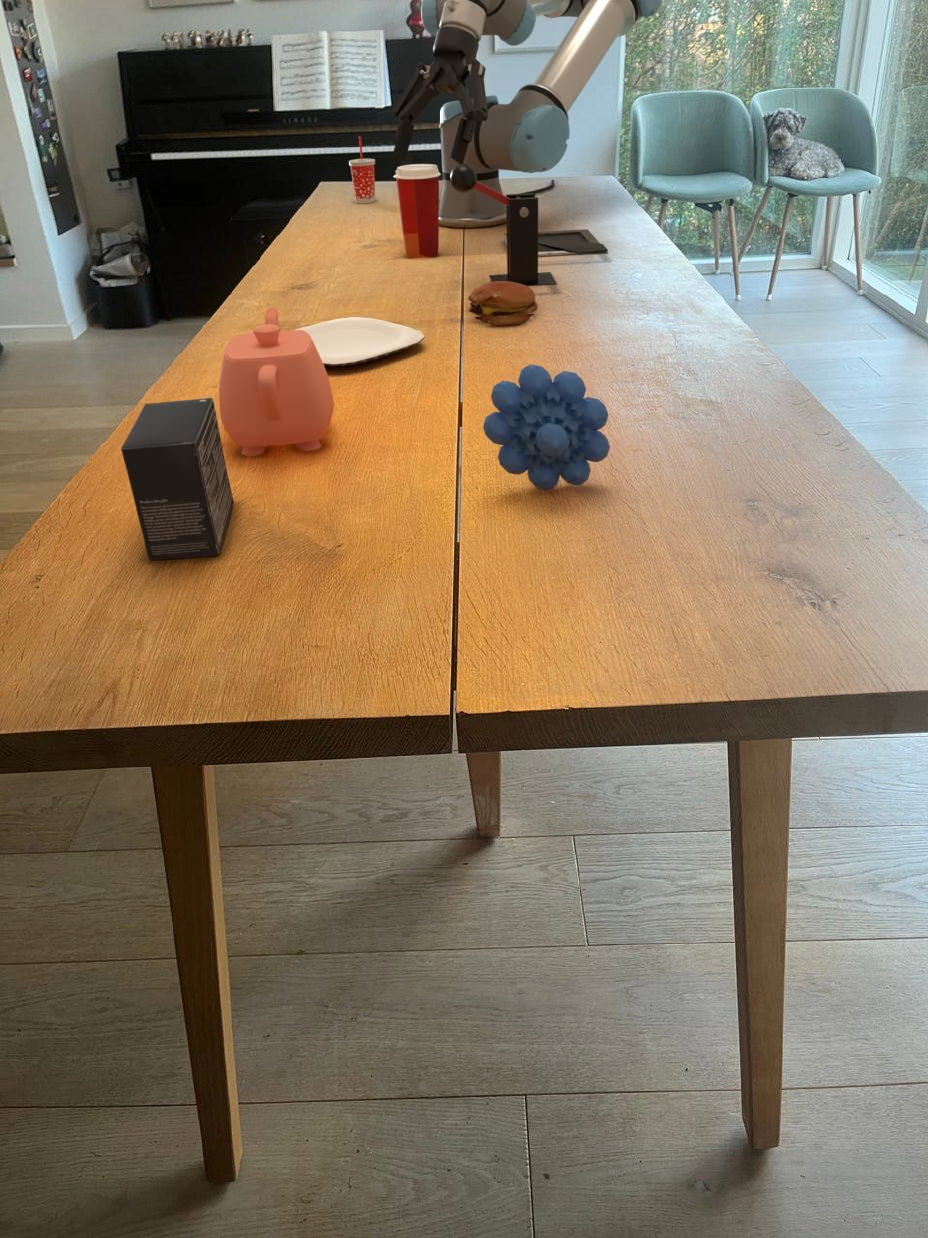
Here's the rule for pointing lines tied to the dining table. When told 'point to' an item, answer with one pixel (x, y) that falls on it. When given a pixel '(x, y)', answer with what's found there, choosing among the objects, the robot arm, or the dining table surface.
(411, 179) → the coffee cup
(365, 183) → the beverage cup
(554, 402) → the blue beaded flower
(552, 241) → the picture frame
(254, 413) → the teapot
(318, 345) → the plate
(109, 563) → the dining table surface
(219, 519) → the small box
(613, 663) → the dining table surface
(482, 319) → the burger
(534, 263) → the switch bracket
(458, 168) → the switch lever
